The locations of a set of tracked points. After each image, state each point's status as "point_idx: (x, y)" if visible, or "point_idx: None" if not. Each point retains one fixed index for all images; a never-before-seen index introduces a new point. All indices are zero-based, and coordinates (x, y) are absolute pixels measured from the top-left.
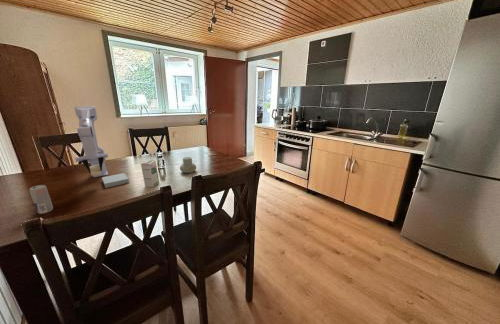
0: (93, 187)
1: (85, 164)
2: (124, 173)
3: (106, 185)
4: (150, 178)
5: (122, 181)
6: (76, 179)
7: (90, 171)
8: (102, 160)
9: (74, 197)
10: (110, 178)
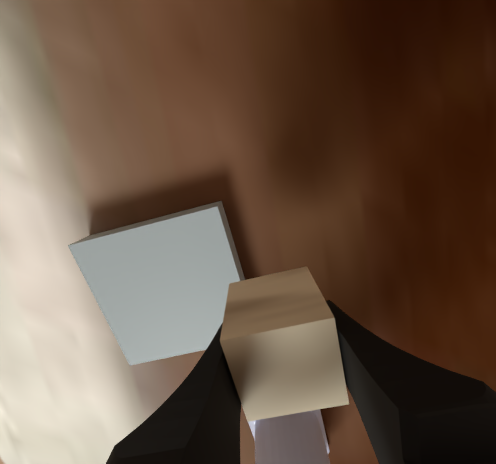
0: (294, 238)
1: (422, 373)
2: (126, 356)
3: (210, 206)
4: None
5: (113, 231)
6: None
7: None
8: (124, 449)
9: (386, 106)
10: (198, 298)
